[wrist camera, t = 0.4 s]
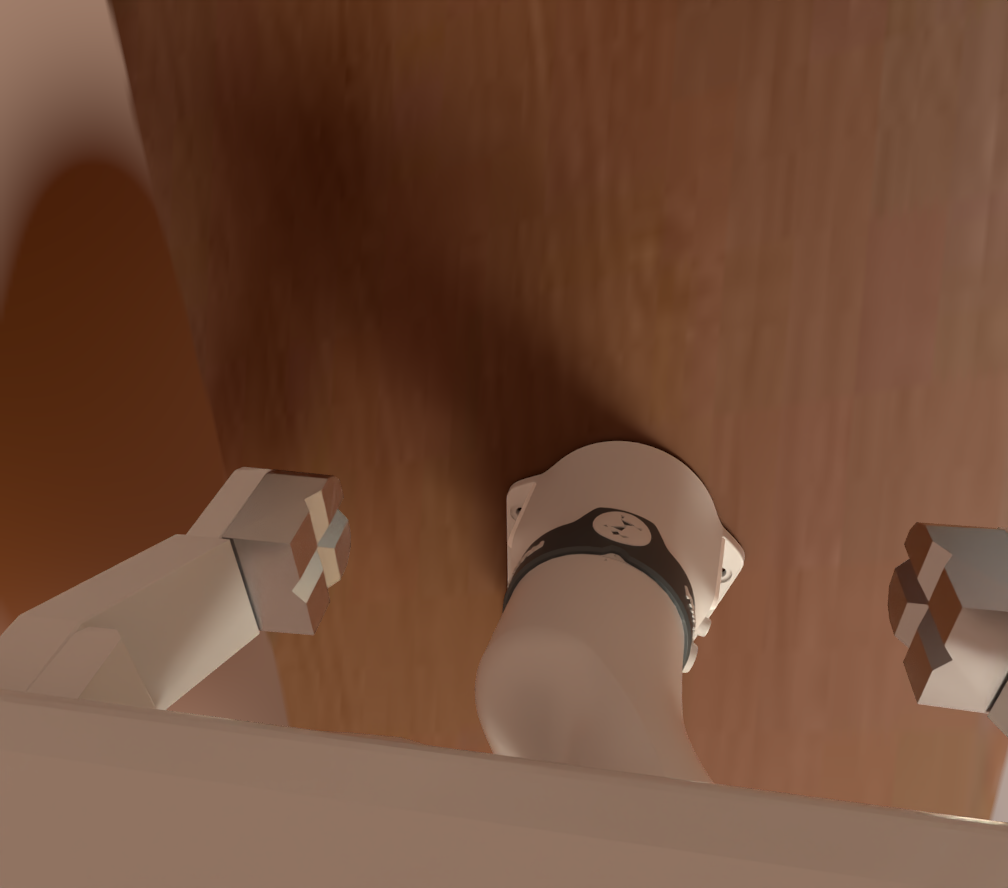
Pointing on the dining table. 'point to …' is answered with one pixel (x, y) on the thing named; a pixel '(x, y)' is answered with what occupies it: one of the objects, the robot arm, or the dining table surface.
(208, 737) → the robot arm
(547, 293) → the dining table surface
